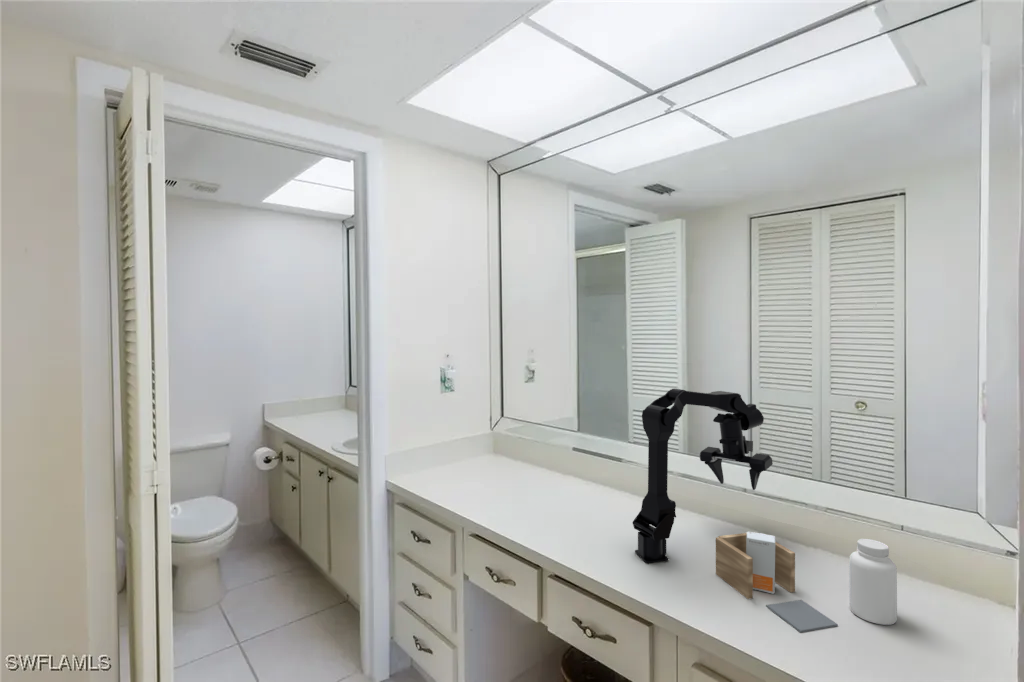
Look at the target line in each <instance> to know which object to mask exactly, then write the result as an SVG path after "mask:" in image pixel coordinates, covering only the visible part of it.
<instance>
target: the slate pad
mask: <svg viewBox="0 0 1024 682" xmlns="http://www.w3.org/2000/svg"><path fill="white" fill-rule="evenodd" d="M765 607H766V608H767V609H768V610H770V612H773V613H774V614H775V615H776V616H778V617H779V618H780V619H781V620H783V621H784V622H786V623H787V624H788V625H790V626H791V627H792V628H793V629H795V630H796V631H798V632H799V633H806V632H812V631H817V630H823V629H828V628H834V627H838V623H837V622H835V621H834V620H832V619H831V618H829V617H828V616H826V614H823V613H822V612H821V611H819V610H818V609H816V608H814V607H813V606H812V605H810V604H808V603H807V602H806V601H804V600H802V599H796V600H790V601H783V602H777V603H771V604H766V606H765Z"/></svg>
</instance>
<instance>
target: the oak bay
mask: <svg viewBox="0 0 1024 682" xmlns="http://www.w3.org/2000/svg"><path fill="white" fill-rule="evenodd" d="M746 537H747V532H743V533H736V534H735V533H733V534H726V535H719V536H718V537H715V575H716V576H718V577H719V578H720V579H722V580H723V581H725V583H726V584H728V585H729V586H731V587H732V588H733V589H734V590H736V591H737V592H738V593H740V594H741V595H742V596H743V597H744V598H746V599H747V600H751V599H754V598H753V595H754V592H753V590H754V589H753V558H751V557H750V556H748V555H747V554H746ZM775 584H778V585H779V586H780V587H781V588H783V589H785V590H786V591H788V592H789V593H795V592H796V552H794V551H793V550H791V549H789V548H787V547H785V546H784V545H782V544H780V543H779V542H777V541H775Z"/></svg>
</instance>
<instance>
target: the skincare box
mask: <svg viewBox="0 0 1024 682" xmlns="http://www.w3.org/2000/svg"><path fill="white" fill-rule="evenodd" d="M746 533H747V537H746V554H747V555H748V556H750V557H751V558H753V590H756V591H760V592H764V593H768V594H772V595H775V590H776V589H775V587H776V586H775V585H776V582H775V542H776V536H775V535H771V534H765V533H761V532H754V531H746Z"/></svg>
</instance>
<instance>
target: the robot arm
mask: <svg viewBox="0 0 1024 682" xmlns="http://www.w3.org/2000/svg"><path fill="white" fill-rule="evenodd" d="M686 405H689V406H690V405H691V406H697V407H699V406H701V407H708V408H710V409H712V410H716V411H720V412H725V413H717V415H716V416H715V417H714V418H713V420H712V421H713V422H714V423H717V424H718V423H719V429H720V437H721V438H720V439H719V444H721V445H722V446H721V447H722V450H721V449H720V448H719V447H716V446H715V447H713V446H707V447H705V448H704V449H703V450H701V451H700V453H699V461H700V462H703V463H704V464H705V465H707V466H708V467H709V468H710V471H712V472H713V474H714V475H715V477H716V478H717V480H718V481H719V483H720V484H724V482H725V480H724V479H725V478H724V473H723V467H722V463H723V460H724V461H731V462H736V463H744V464H748V465H749V470H748V471H749V472H748V473H749V476H750V477H749V478H750V484H751V489H752V491H756V489H757V486H758V482H759V478H760V475H761V473H762V472H764V471H767V470H768V469H769V468H770V467H771V466H772V465H773V463H774V462H773V458H772V457H771V455H770V454H766V453H765V454H764V453H759V452H756V453H755V454H754V455H752V456H749V455H748V454H749V453H750V452H751V453H753V452H754V440H748V439H746V436H745V435H743V431H748V430H752V429H754V428H757V427H760V426H762V425H763V423H764V420H765V418H764V417H765V416H764V415H763V414H762V412H761V411H760V410H759V409H758V408H757V404H754V403H748V404H746V402H745V401H744V400H743V398H742V395H741V394H740V393H738V392H730V391H724V390H717V391H716V390H715V391H711V392H708V393H707V392H706V393H705V392H701V391H700V392H699V391H691V390H684V389H679V388H671V389H669V390H668V391H667V392H666V393H665V394H663V395H662V396H660V397H658V398H657V399H655V400H653V401H652V402H650V404H649V405H647V406H646V407H645V408H644V409H643V410H642V412H641V413H642V414H641V419H642V428H643V430H644V433H645V435H646V436H647V440H648V447H647V448H648V449H647V450H648V460H647V461H648V463H647V466H648V467H647V468H648V469H647V493H646V495H645V496H644V497H643V499H642V501H641V502H642V503H641V508H640V511H639V512H638V514H637V515H636V516H635V518H634V520H632V525H633V528H634V530H636V531H637V549H635V550H634V553H635V554H636V555H637V556H638V557H639V558H640V559H641V560H643V562H644V563H646V564H650V563H652V564H653V563H658V562H666V561H669V557H668V556H667V539H669V538H670V536H671V532H672V528H673V526H674V523H675V519H676V518H677V514H676V506H677V505H676V501H675V500H672V499H670V498H669V495H668V468H669V467H668V466H669V465H668V464H669V461H668V460H669V459H668V458H669V457H668V456H669V455H668V454H669V452H668V451H669V449H668V448H669V440H670V438H671V436H672V435H673V433H674V431H675V426H676V422H677V421H678V420H679V419H680V417H682V415H683V412H684V409H685V408H684V407H686ZM669 407H670V408H669Z"/></svg>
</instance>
